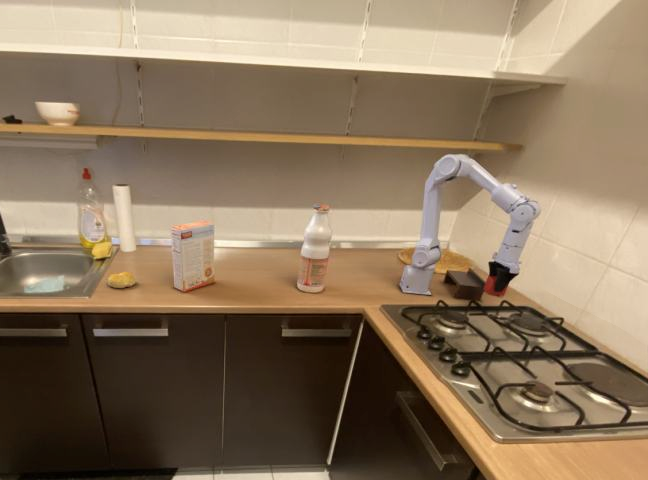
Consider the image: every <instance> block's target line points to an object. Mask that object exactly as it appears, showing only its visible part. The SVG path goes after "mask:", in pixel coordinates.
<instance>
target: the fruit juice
mask: <svg viewBox="0 0 648 480" xmlns="http://www.w3.org/2000/svg"><path fill="white" fill-rule="evenodd" d="M329 212H330V206H329V205H327V204H314V205H313V214H312V217H311V219H310V220H309V223H308V224H307V226H306V227H305V228H304V232H303V240H304V241H303V244H302V246H301V251H300V259H299V264H298V265H299V266H298V274H297V282H296V288H297V289H298V290H300V291H302V292H304V293H310V294H311V293H313V294H315V293H320V292H322V291H323V290H324V288H325V282H326V278H327V277H326V276H327V269H328V264H329V257H330V250H331V248H330V242H331V240H332V237H333V231H332V229H331V226H330V220H329Z"/></svg>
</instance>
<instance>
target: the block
mask: <svg viewBox="0 0 648 480" xmlns="http://www.w3.org/2000/svg"><path fill="white" fill-rule="evenodd" d="M496 279H497V276H489V275H488V276H487V278H486V280H485V282H486V283H485V286H484V288H483V289H484V292H485V293H486V294H487V295H491V296H495V295H500V296H503V297H504V296H505V294H506V293H507V292H506V291H507V290H508V287H509V285H510V282H511V281H510V282H509V283H508V285H507V286H506V287H505V289H504V290H503V291H502V292H498V291H494V287H495V283H496Z"/></svg>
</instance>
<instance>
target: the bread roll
mask: <svg viewBox="0 0 648 480" xmlns="http://www.w3.org/2000/svg"><path fill="white" fill-rule="evenodd" d="M107 284H108V286H109V287H111V288H114V289H125V288H126V287H127V288H130V287H133V286H134V285H135V284H136V281H135V276H134V275H133V274H132V273H131V272H128V271H122V272H120V273H112V274H110V275H109V277H108V278H107Z"/></svg>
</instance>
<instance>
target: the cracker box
mask: <svg viewBox="0 0 648 480" xmlns="http://www.w3.org/2000/svg"><path fill="white" fill-rule="evenodd" d="M170 239H171V241H170V242H171V255H172V256H171V257H172V272H173V273H172V274H173V288H174V289H175V290H178V291H181V292H183V293H186V292H189V291H192V290H195V289H198V288H201V287H204V286H208V285H211V284H214V283H215V223H214V222H213V223H212V222H209V221H207V220H201V221H196V222H190V223H183V224H178V225H173V226H170Z"/></svg>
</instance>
